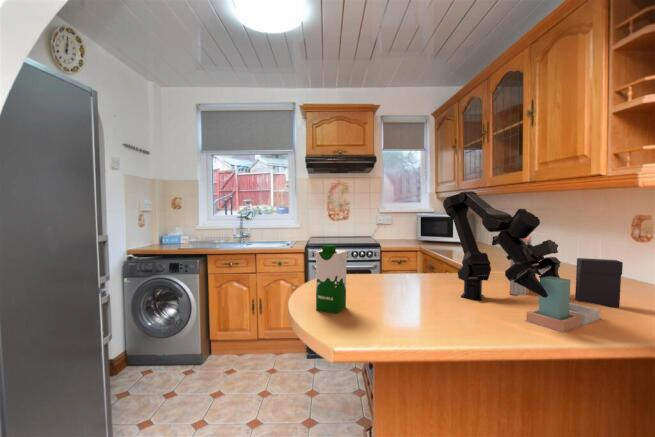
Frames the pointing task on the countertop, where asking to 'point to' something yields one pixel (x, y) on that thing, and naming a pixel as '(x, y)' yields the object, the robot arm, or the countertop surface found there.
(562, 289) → the plug
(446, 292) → the countertop surface
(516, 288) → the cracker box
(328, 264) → the milk carton
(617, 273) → the black box
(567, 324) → the organiser
